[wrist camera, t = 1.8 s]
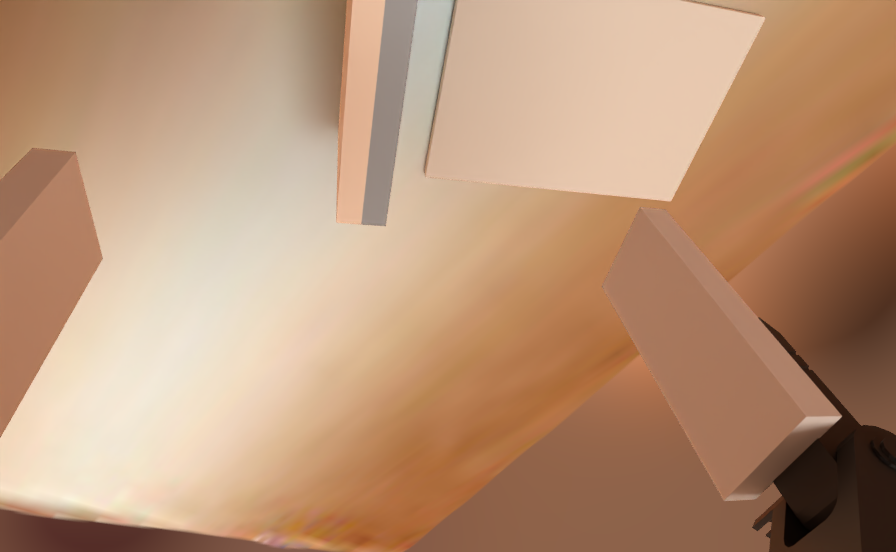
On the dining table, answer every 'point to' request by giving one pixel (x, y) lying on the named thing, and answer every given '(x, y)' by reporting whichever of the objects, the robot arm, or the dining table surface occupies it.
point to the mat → (583, 92)
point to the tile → (371, 105)
